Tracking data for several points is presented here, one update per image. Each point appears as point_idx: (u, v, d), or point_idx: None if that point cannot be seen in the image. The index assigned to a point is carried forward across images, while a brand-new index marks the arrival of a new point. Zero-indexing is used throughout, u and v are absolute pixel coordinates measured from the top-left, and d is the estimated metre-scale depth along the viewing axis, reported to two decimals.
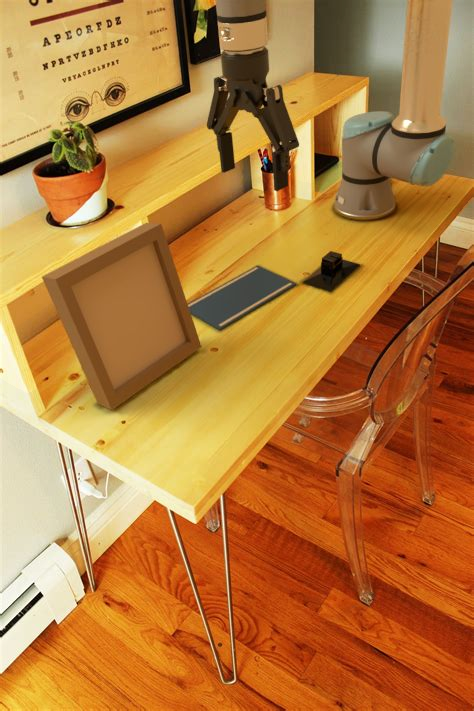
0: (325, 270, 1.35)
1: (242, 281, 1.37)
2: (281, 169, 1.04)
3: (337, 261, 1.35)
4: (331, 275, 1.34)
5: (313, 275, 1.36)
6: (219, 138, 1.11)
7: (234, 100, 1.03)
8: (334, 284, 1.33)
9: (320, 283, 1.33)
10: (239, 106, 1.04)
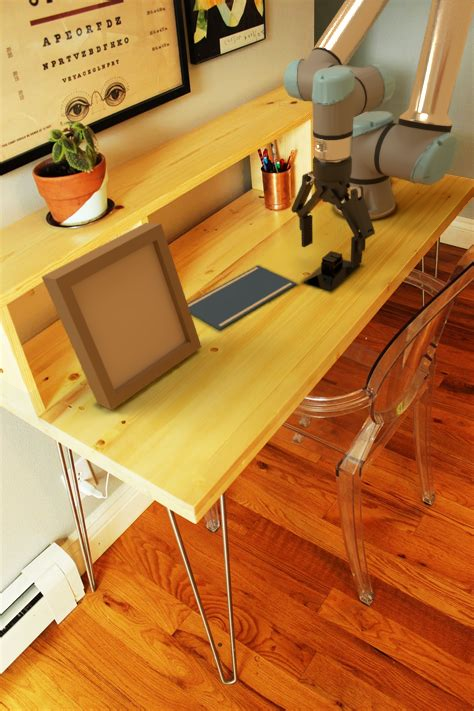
0: (325, 270, 1.34)
1: (242, 281, 1.37)
2: (358, 251, 1.26)
3: (337, 261, 1.35)
4: (331, 275, 1.34)
5: (313, 275, 1.36)
6: (302, 220, 1.33)
7: (320, 194, 1.25)
8: (334, 284, 1.33)
9: (320, 283, 1.33)
10: (324, 199, 1.26)
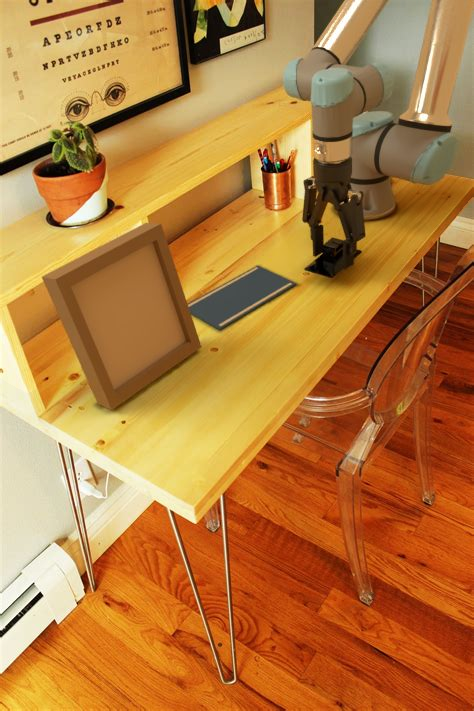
0: (327, 257, 1.33)
1: (242, 281, 1.37)
2: (350, 253, 1.29)
3: (339, 247, 1.33)
4: (333, 262, 1.33)
5: (314, 262, 1.34)
6: (313, 230, 1.33)
7: (321, 195, 1.26)
8: (335, 271, 1.31)
9: (322, 270, 1.32)
10: (325, 199, 1.26)
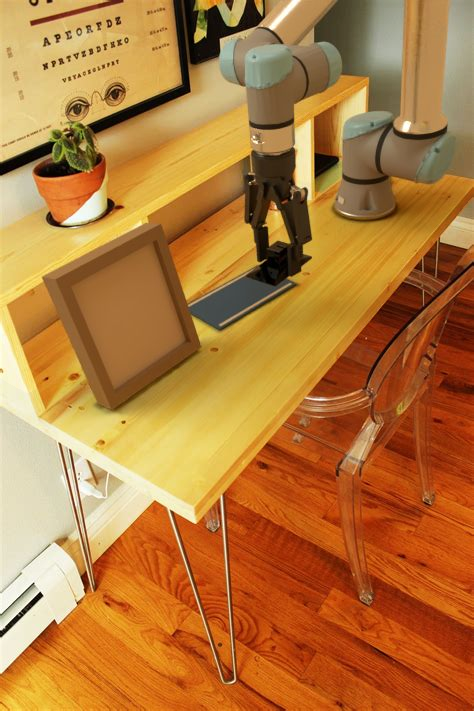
0: (271, 262, 1.18)
1: (242, 281, 1.37)
2: (295, 259, 1.14)
3: (285, 252, 1.18)
4: (277, 268, 1.17)
5: (257, 268, 1.19)
6: (256, 233, 1.18)
7: None
8: (280, 278, 1.16)
9: (264, 277, 1.16)
10: (267, 197, 1.11)
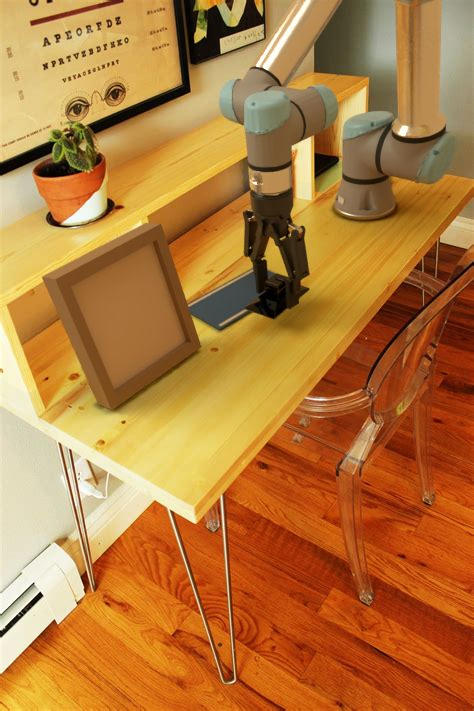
0: (269, 295, 1.21)
1: (242, 281, 1.37)
2: (293, 292, 1.17)
3: (283, 285, 1.21)
4: (276, 300, 1.21)
5: (256, 300, 1.23)
6: (255, 266, 1.21)
7: (261, 228, 1.14)
8: (278, 311, 1.19)
9: (263, 309, 1.20)
10: (265, 233, 1.15)
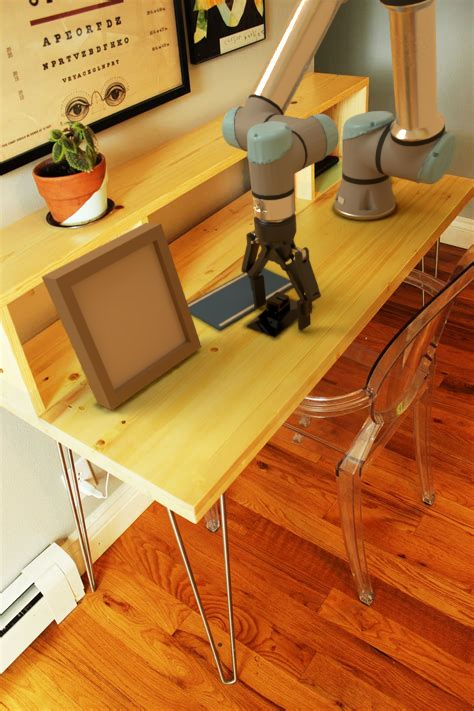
0: (271, 313, 1.24)
1: (242, 281, 1.37)
2: (305, 314, 1.18)
3: (284, 303, 1.24)
4: (277, 318, 1.23)
5: (258, 318, 1.25)
6: (253, 282, 1.24)
7: (265, 253, 1.17)
8: (279, 329, 1.22)
9: (265, 327, 1.23)
10: (269, 258, 1.17)
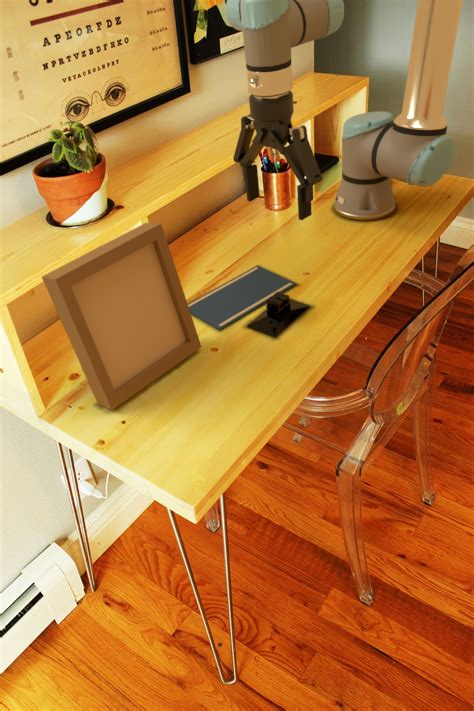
0: (271, 313, 1.24)
1: (242, 281, 1.37)
2: (305, 200, 1.13)
3: (284, 303, 1.24)
4: (277, 318, 1.23)
5: (258, 318, 1.25)
6: (245, 171, 1.20)
7: (261, 138, 1.12)
8: (279, 329, 1.22)
9: (265, 328, 1.22)
10: (265, 143, 1.12)
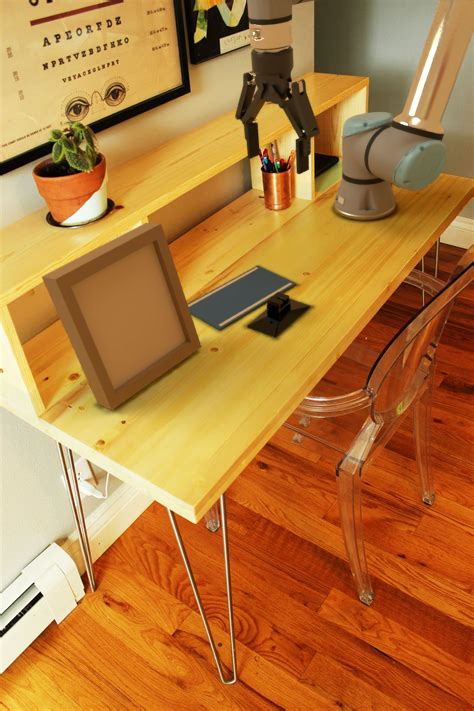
0: (271, 313, 1.24)
1: (242, 281, 1.37)
2: (303, 154, 1.17)
3: (284, 303, 1.24)
4: (277, 318, 1.23)
5: (258, 318, 1.25)
6: (246, 127, 1.24)
7: (262, 93, 1.16)
8: (279, 329, 1.22)
9: (265, 328, 1.22)
10: (266, 98, 1.17)
